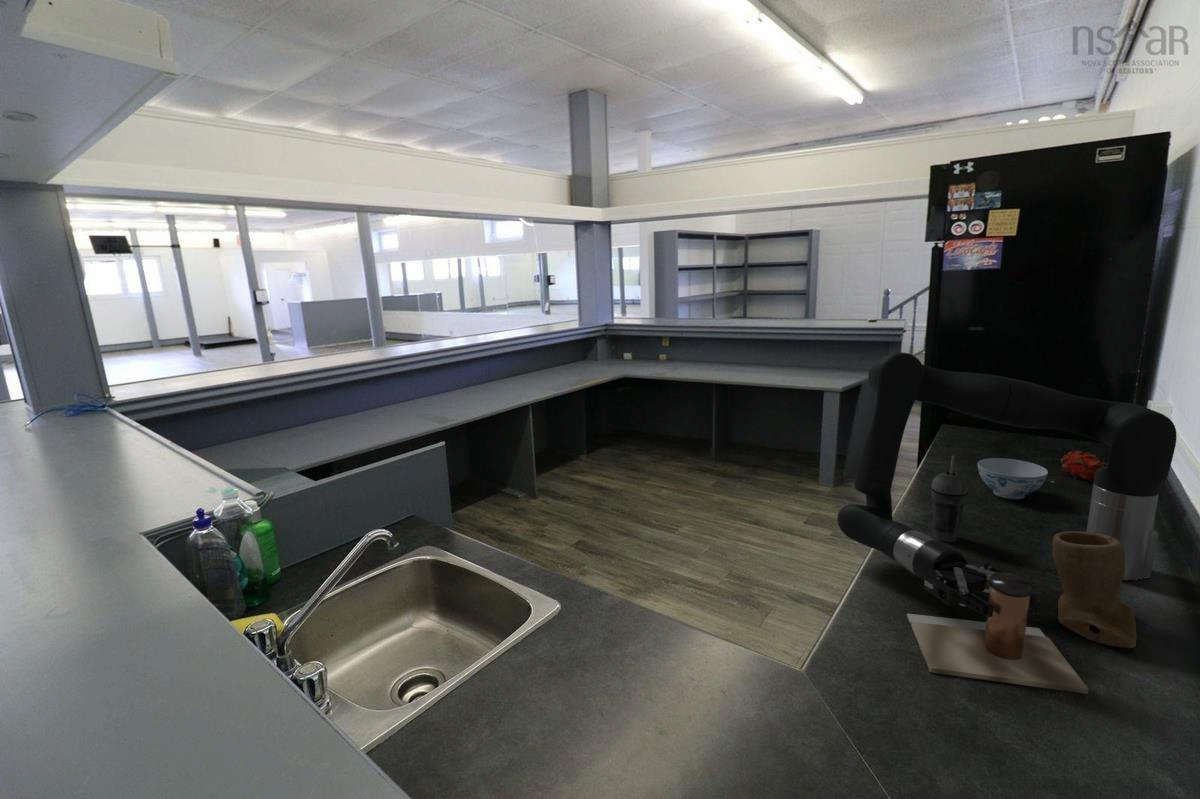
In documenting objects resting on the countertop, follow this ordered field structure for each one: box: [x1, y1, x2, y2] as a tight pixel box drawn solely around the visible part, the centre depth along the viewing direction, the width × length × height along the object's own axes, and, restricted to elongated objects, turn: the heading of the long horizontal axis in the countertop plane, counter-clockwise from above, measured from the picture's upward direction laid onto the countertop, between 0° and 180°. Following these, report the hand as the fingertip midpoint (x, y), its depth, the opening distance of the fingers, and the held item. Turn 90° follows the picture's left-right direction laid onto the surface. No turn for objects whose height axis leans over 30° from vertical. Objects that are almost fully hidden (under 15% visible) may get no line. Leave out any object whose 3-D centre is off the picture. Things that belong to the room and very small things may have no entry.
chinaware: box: [977, 457, 1049, 500], centre depth 148 cm, size 15×15×8 cm
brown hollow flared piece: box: [1051, 530, 1137, 649], centre depth 94 cm, size 15×12×15 cm
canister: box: [984, 572, 1033, 660], centre depth 87 cm, size 5×5×12 cm
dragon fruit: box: [1060, 450, 1107, 483], centre depth 156 cm, size 8×8×12 cm
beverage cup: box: [930, 454, 969, 543], centre depth 125 cm, size 7×7×20 cm
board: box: [910, 622, 1089, 695], centre depth 88 cm, size 20×12×1 cm, turn 74°
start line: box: [906, 613, 1046, 637], centre depth 95 cm, size 20×2×1 cm, turn 74°
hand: (1013, 607), depth 86 cm, fingers open, 8 cm apart
